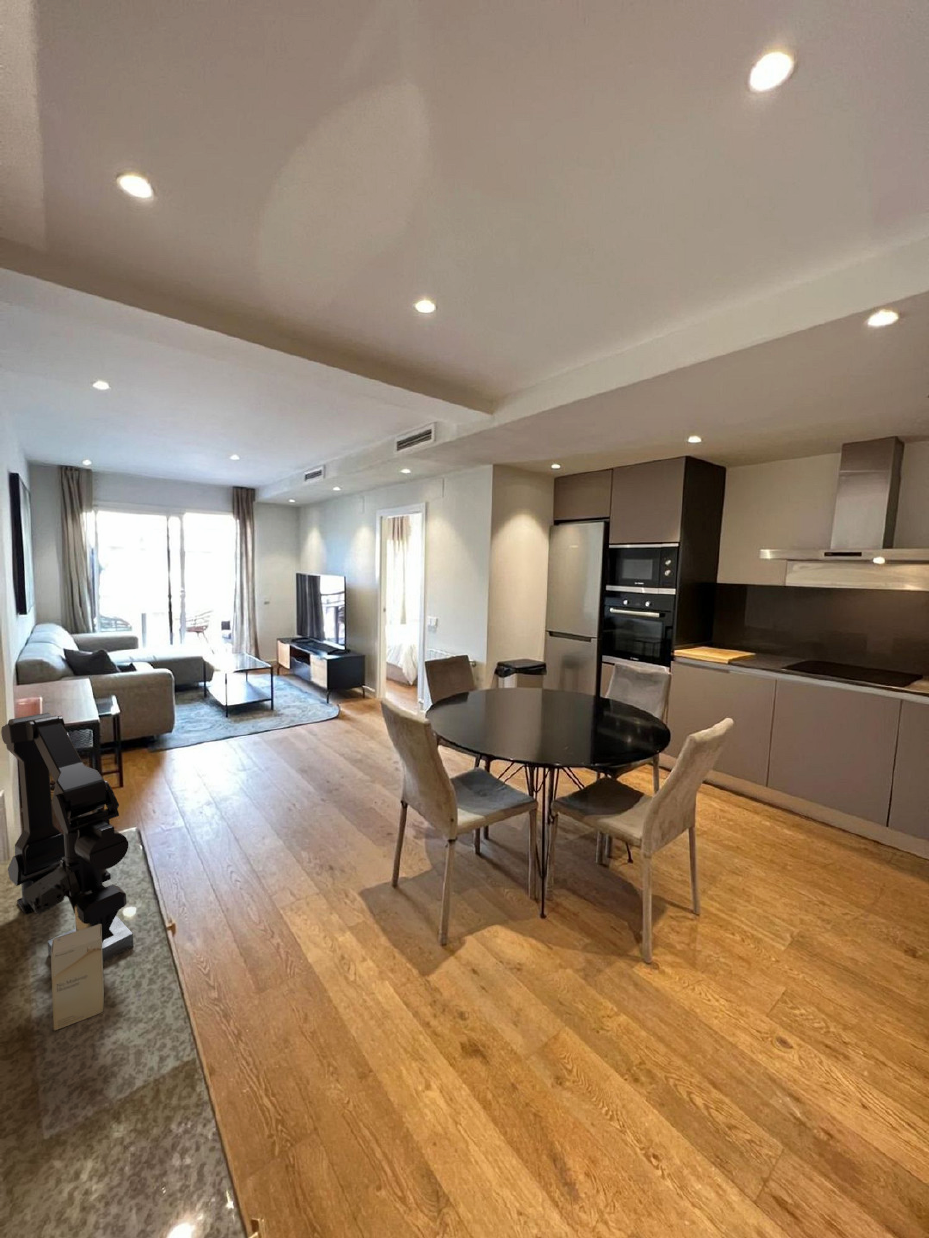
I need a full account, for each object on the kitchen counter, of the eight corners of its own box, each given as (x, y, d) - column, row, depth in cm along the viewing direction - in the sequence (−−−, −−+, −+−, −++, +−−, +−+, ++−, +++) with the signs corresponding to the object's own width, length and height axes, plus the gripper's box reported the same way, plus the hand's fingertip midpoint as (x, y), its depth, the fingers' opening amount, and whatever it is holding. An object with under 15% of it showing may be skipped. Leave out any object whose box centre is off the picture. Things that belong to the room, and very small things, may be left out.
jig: (48, 953, 90) (47, 940, 89) (112, 923, 98) (112, 911, 97) (66, 981, 84) (65, 967, 83) (133, 946, 92) (132, 933, 91)
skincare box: (53, 1032, 74) (48, 956, 73) (56, 1011, 78) (51, 938, 77) (105, 1011, 78) (101, 938, 77) (105, 992, 81) (101, 922, 80)
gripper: (12, 851, 88) (18, 934, 89) (43, 891, 77) (49, 985, 78) (88, 826, 97) (92, 902, 98) (125, 859, 86) (130, 944, 87)
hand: (90, 931), depth 90 cm, fingers open, 9 cm apart
